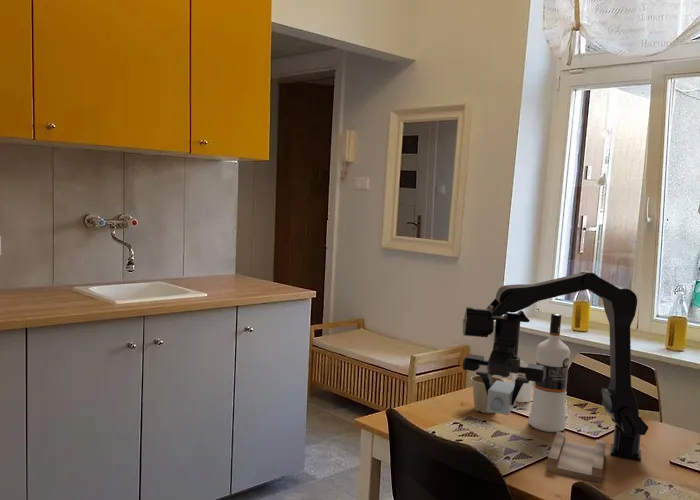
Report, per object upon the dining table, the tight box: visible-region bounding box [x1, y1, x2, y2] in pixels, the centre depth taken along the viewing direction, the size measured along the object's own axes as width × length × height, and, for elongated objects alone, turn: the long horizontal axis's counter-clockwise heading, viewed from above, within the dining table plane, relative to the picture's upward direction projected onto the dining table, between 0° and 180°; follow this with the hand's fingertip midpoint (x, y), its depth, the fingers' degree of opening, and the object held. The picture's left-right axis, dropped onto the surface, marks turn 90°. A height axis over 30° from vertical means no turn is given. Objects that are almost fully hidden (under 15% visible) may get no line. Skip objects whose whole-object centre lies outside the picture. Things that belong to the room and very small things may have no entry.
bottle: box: [487, 380, 517, 416], centre depth 146 cm, size 13×5×5 cm, turn 155°
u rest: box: [546, 431, 606, 484], centre depth 139 cm, size 18×11×3 cm, turn 155°
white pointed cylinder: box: [511, 359, 533, 403], centre depth 183 cm, size 6×12×6 cm
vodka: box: [528, 313, 571, 433], centre depth 160 cm, size 9×9×30 cm
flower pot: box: [470, 375, 506, 414], centre depth 171 cm, size 9×9×9 cm
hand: (501, 402), depth 147 cm, fingers closed on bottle, 5 cm apart
